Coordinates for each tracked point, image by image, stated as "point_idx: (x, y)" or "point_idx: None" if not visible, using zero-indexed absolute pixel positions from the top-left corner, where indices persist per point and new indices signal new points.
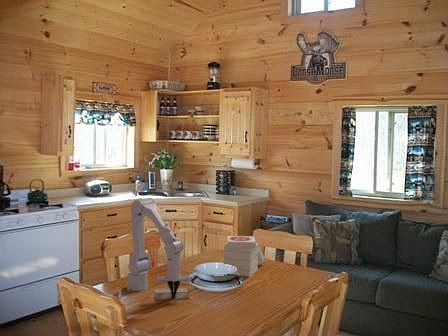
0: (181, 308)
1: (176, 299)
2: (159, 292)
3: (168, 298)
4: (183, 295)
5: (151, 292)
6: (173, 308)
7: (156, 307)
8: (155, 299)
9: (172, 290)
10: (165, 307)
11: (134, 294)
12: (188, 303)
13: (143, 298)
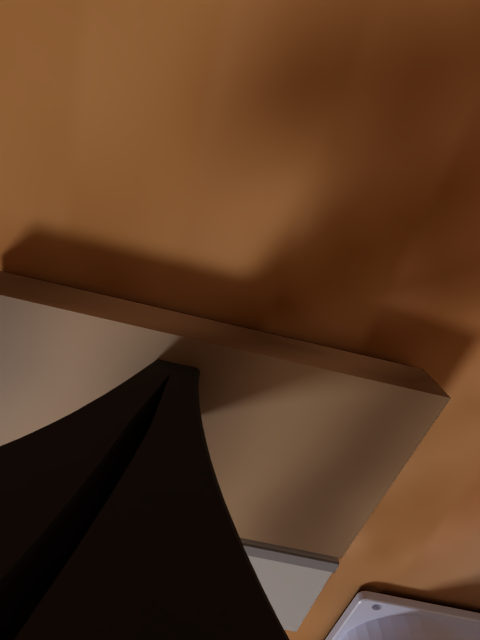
0: (127, 33)
1: (144, 321)
2: (282, 567)
3: (253, 373)
4: (29, 417)
5: (317, 597)
6: (255, 86)
7: (473, 227)
8: (446, 396)
9: (161, 451)
10: (355, 181)
11: (468, 604)
12: (4, 231)
13: (450, 520)
